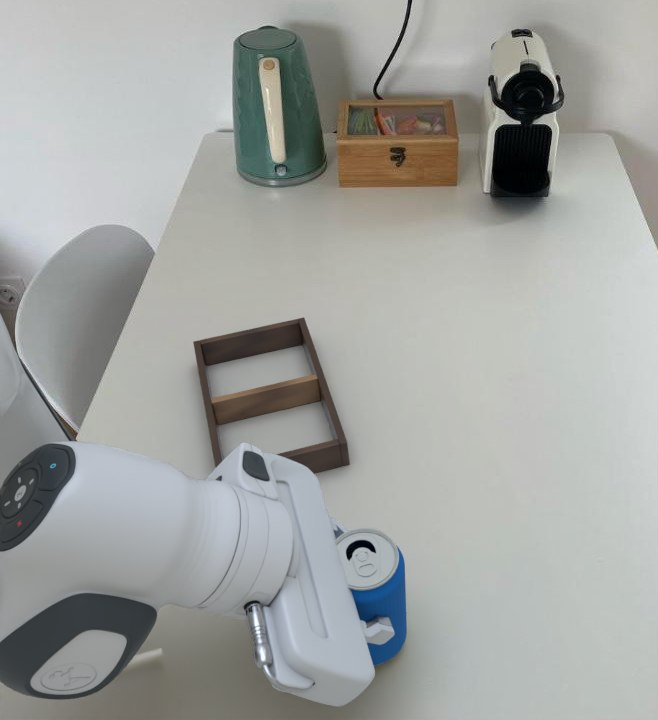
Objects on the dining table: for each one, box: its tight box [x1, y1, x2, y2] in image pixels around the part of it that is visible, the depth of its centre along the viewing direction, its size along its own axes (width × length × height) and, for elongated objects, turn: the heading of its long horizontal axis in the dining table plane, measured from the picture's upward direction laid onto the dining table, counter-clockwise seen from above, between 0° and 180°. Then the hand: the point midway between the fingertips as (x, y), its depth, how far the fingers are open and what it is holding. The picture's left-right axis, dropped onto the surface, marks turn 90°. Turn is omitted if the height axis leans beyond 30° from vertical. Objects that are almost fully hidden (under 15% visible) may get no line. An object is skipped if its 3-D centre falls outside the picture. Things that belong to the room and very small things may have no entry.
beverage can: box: [334, 527, 408, 666], centre depth 67 cm, size 6×6×12 cm
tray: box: [192, 317, 351, 474], centre depth 92 cm, size 14×22×4 cm, turn 17°
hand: (373, 589), depth 67 cm, fingers closed on beverage can, 6 cm apart
